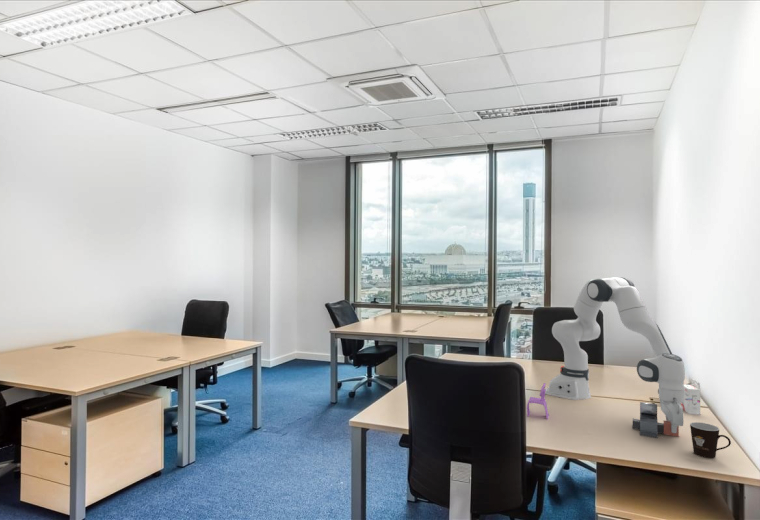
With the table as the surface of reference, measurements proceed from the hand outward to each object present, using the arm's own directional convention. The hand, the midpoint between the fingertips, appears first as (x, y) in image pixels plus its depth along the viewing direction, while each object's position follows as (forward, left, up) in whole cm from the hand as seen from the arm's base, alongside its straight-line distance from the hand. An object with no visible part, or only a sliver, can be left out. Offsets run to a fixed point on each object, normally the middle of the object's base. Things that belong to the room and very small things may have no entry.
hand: (671, 429), depth 184 cm
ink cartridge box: (+9, +37, -2) cm, 38 cm away
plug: (-6, 0, -2) cm, 6 cm away
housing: (-8, 0, -2) cm, 8 cm away
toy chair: (-51, -6, -2) cm, 51 cm away
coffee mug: (+10, -19, -2) cm, 22 cm away
